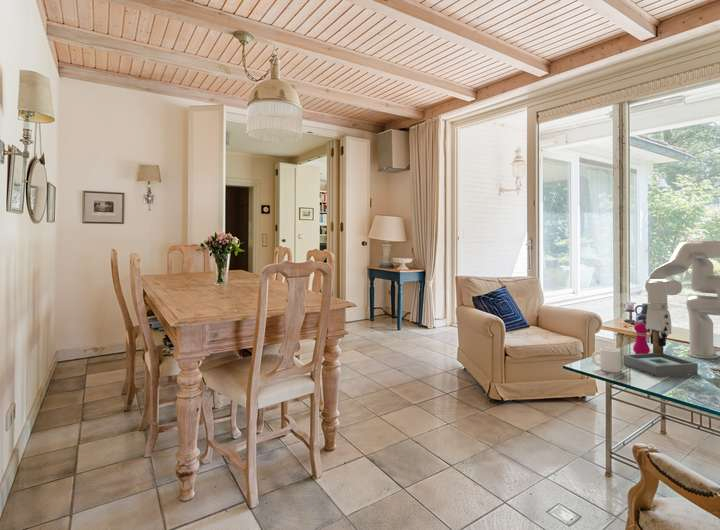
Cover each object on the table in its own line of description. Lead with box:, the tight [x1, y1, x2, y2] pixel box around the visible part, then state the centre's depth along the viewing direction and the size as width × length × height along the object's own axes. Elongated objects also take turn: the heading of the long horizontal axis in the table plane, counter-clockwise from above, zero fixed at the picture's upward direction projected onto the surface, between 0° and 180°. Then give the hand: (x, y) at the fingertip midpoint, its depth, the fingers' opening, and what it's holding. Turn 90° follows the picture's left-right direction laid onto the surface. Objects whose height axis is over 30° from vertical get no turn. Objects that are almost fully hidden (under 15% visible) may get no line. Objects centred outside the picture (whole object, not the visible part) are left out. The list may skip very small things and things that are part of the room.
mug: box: [591, 346, 622, 374], centre depth 193 cm, size 12×8×10 cm
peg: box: [652, 329, 664, 355], centre depth 190 cm, size 4×4×12 cm
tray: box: [623, 352, 699, 378], centre depth 190 cm, size 20×20×5 cm
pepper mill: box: [632, 319, 651, 354], centre depth 209 cm, size 7×7×20 cm
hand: (658, 344), depth 190 cm, fingers closed on peg, 4 cm apart
